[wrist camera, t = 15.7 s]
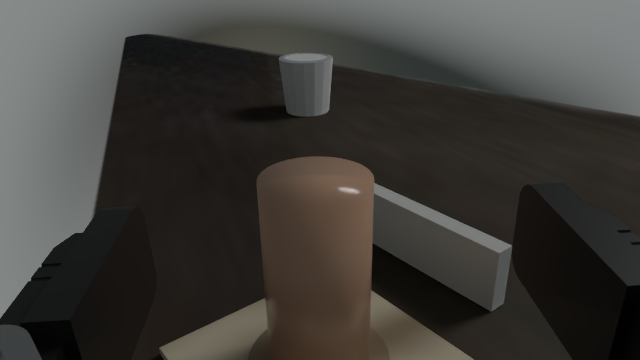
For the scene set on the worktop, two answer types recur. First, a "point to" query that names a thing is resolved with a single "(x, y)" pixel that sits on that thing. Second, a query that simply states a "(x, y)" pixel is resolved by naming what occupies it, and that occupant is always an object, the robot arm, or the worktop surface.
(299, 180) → the cylinder
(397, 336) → the pad
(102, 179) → the worktop surface
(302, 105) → the shot glass
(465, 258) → the wall
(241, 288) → the worktop surface
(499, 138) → the worktop surface
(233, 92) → the worktop surface
